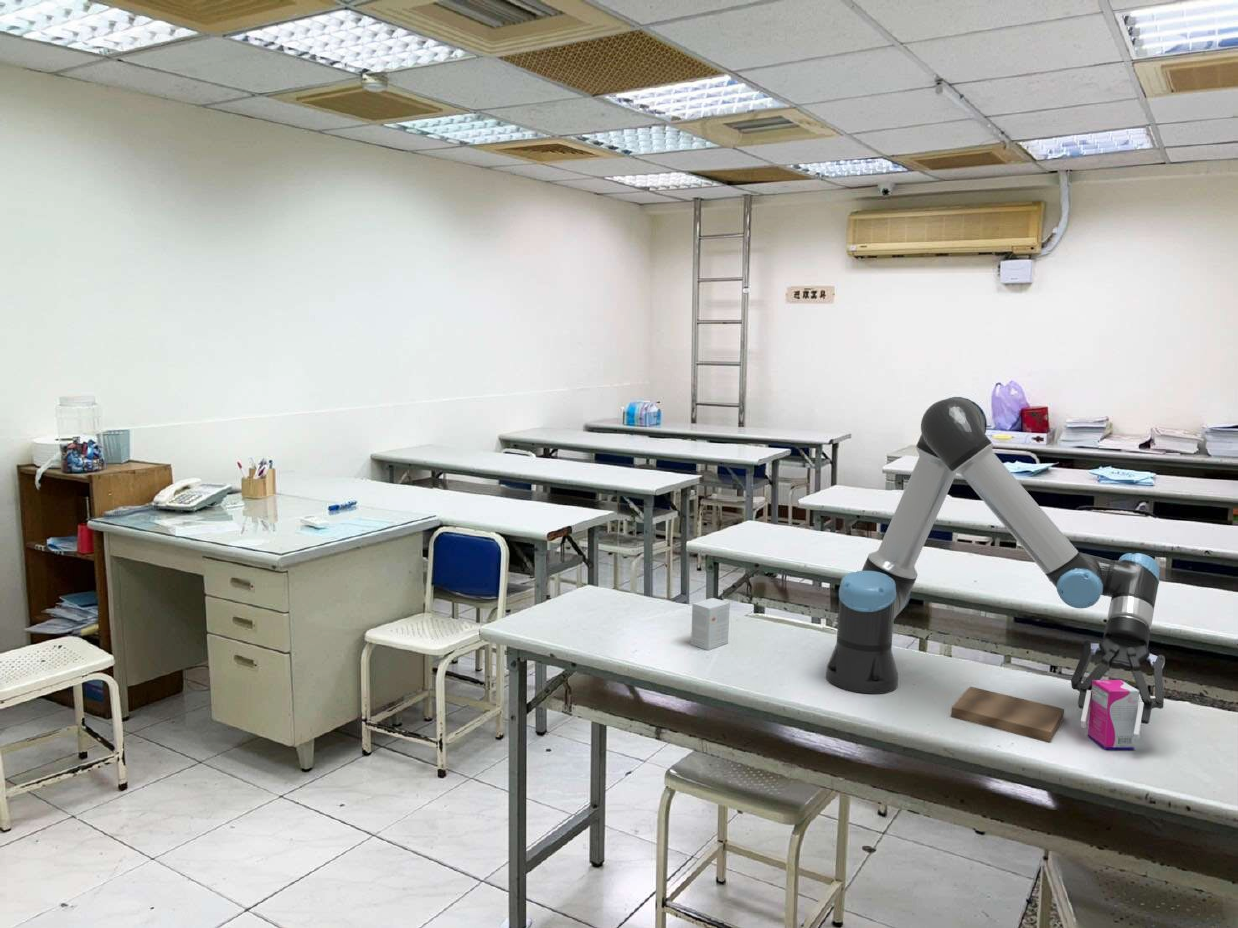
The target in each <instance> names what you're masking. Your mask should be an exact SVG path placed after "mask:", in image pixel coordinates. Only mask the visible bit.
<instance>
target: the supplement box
mask: <svg viewBox="0 0 1238 928" xmlns="http://www.w3.org/2000/svg"><path fill="white" fill-rule="evenodd" d="M1091 691H1092V692H1091V703H1090V710H1089V715H1088V726H1087V727H1088V728H1087V737H1088V738H1089V739H1090V740H1091V741H1093V742H1094V743H1096V744H1097V745H1098V746H1099V747H1101V748H1102V749H1103V750H1104V751H1135V745H1136V744H1135V743H1136V741H1135V740H1134V729H1135V723H1136V717H1137V711H1138V705H1139V702H1140V700H1139V699H1140V693H1139V690H1138V688H1137V687H1136V688H1135V687H1133V685H1132V686H1131V685H1130V684H1128V683H1127V682H1125V681H1124V680H1121V679H1100V680H1092V690H1091Z"/></svg>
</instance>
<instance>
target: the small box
mask: <svg viewBox="0 0 1238 928" xmlns="http://www.w3.org/2000/svg"><path fill="white" fill-rule="evenodd" d="M730 604H731V603H730V602H728V601H725V600H722V599H718V598H715V597H710V598H707V599H703V600H700V601H696V602H694V603H692V606H691V633H690V635H691V637H690V638H691V639H690V641H691V642H690V645H691V646H694V647H697V648H700V649H703V650H706V651H709V650H712V649H716V648H718V647H721V646H724V645H727V644H728V643H729V630H730V609H731V608H730Z"/></svg>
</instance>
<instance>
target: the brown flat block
mask: <svg viewBox="0 0 1238 928" xmlns="http://www.w3.org/2000/svg"><path fill="white" fill-rule="evenodd" d="M950 710H951V713H950V718H954V719H958V718H959V720H961V721H965V722H970V723H973V724H978V725H981V726H985V727H989V728H993V729H997V730H1000V731H1004V732H1008V733H1013V734H1016V735H1019V736H1024V737H1028V738H1030V739H1036V740H1039V741H1043V742H1047V743H1051V742H1052V740H1053V738H1054V736H1055V735H1056V733H1057V731H1058V729H1059V727H1060V726H1061V724H1062V721H1063V720H1064V715H1065V708H1063V707H1059V706H1054V705H1050V704H1046V703H1042V702H1037V701H1032V700H1029V699H1025V698H1020V697H1017V696H1012V695H1007V694H1004V693H999V692H995V691H992V690H986V689H984V688H983V689H982V688H979V687H974V686H969V687H968V688H967V689H966V691H964V693H963V694H962V695H960V697H959V698H958V699H957V701H956V702H955V703H954V704H953V705H951V709H950Z"/></svg>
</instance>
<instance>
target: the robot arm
mask: <svg viewBox="0 0 1238 928" xmlns="http://www.w3.org/2000/svg"><path fill="white" fill-rule="evenodd" d="M987 420H988V419H987V417H986V413H985V411H984V410H983V409H982V407H981V406H980V405H979V404H977V403H976V402H975V401H973V400H972V399H969V398H967V397H962V396H953V397H948V398H945V399H941V400H938V401H937V402H935V403H933V404H931V406H929V407H928V408H927V409H926V411H925V412H924V413H923V416H922V418H921V422H920V432H921V434H920V437H919V439H918V441H917V444H916V446H915V449H916V451H917V453H918V459H917V461H916V464H915V466H914V468H913V470H912V472H911V474H910V477H909V480H908V481H907V484H906V487H905V489H904V491H903V492H902V494H901V497H900V500H899V502H898V503H897V504H898V505H897V507H896V509H895V510H894V511H895V512H894V513H893V516H892V517H891V520H890V523H889V525H888V527H887V530H886V532H885V533H884V535H883V538H882V540H881V543H880V545H879V547H878V550H876V551H873V552H871V553H868V556H867V557H866V560H865V562H864V565H863V567H862V569H861V570H857V571H856V572H855V571H852V572H849V573H847V574H845V575H844V576H843V577H842V579H841V580H840V585H839V587H838V612H837V613H838V614H837V629H836V631H837V632H836V643H835V646H834V649H833V651H832V653H831V656H830V658H829V661H828V663H827V665H826V673H825V674H826V679H827V680H828V682H829V683H831V684H832V685H834V686H836V687H838V688H841V689H843V690H846V691H847V690H848V691H850V692H854V693H855V692H856V693H862V694H884V693H890V692H893V691H894V690H896V689H897V688H898V683H899V682H898V681H899V673H898V670H897V665H896V662H895V659H894V654H893V650H892V648H893V647H892V646H893V633H894V621H895V619H896V617H897V616H898V615H899V614H900V613H901V612H902V611H903V609H904V608H905V607H906V606H907V605H908V604H909V601H910V599H911V594H912V593H911V591H912V589H913V587H914V584H915V583H916V580H917V578H918V575H919V574H918V572H917V570H916V567H915V566H916V563H917V560H918V559H919V556H920V555H921V552H922V551H923V548H924V547H925V544H926V541H927V539H928V537H929V535H930V533H931V531H932V529H933V526H934V524H935V522H936V519H937V517H938V515H939V513H940V510H941V509H942V506H943V505H944V502H945V500H946V497H947V495H948V493H949V491H950V488H951V486H952V484H953V482H954V480H955V477H956V475H957V474H958V475H961V477H963V479H964V480H965V481H966V482H967V484H968V485H969V486H970V487H971V488H972V489H973V491H974V492H975V493H976V495H977V496H979V498H980V500H982V501H983V503H984V504H985V505H986V506H987V507H988V508H989V510H990V511H991V512H992V513H993V515H995V517H996V518H997V519H998V520H999V522H1001V524H1002V525H1003V526H1004V527H1005V528H1006V530H1007V531H1008V532H1009V533H1010V534H1011V535H1012V536H1013V538H1014V539H1015V540H1016V541H1017V543H1018V544H1019V545H1020V546H1021V548H1023V550H1025V552H1026V553H1027V554H1028V555H1029V557H1030V558H1031V559H1032V560H1033V562H1034V563H1035V564H1036V565H1037V566H1038V567H1039V569H1040V570H1041V571H1042V572H1043V573H1044V575H1045V576H1046V577H1047V578H1048V581H1049V582H1050V583H1052V584H1053V586H1054V587H1055V588H1056V592H1057V594H1058V596H1059V597H1060V599H1061V601H1062V602H1063V603H1065V604H1066V605H1067V606H1070V607H1072V608H1075V609H1088V608H1090V607H1093V606H1094V605H1095V604H1096V603H1098V601H1099V600H1100V599H1101V596H1102V597H1109V598H1111V599H1110V602H1109V609H1108V613H1107V618H1106V619H1107V620H1106V623H1105V628H1104V633H1103V637H1102V640H1101V641H1100V642H1099V643H1095V642H1094V643H1092V642H1091V641H1090V640H1084V641H1083V652H1082V654H1081V656H1080V659H1079V661H1078V663H1077V666H1076V667H1075V670H1074V672H1073V675H1072V677H1071V679H1070V686H1071V689H1073V690H1076V691H1078V692H1079V694H1078V700H1077V707H1078V709H1081V710H1082V712H1081V718H1080V726H1081V727H1080V728H1082V729H1083V728H1084V729H1086V728H1087V724H1088V721H1089V715H1090V703H1091V692H1092V680H1102V678H1103V677H1104V675H1105V674H1106V673H1107V672H1109V671H1110V670H1111V668H1114V669H1122V670H1125V671H1129V672H1130V671H1131V674H1132V677H1133V678H1134V680H1135V684H1136V686H1137V687H1136V688H1137V690H1139V697H1140V698H1141V699H1140V700H1141V701H1138V711H1137V717H1136V723H1135V729H1134V740H1135V742H1139V741H1140V735H1141V729H1142V724H1144V725H1149V723H1150V718H1151V713H1152V709H1155V708H1156V709H1160V710H1161V709H1164V704H1165V698H1164V686H1163V685H1164V684H1163V669H1164V668H1165V665H1166V664H1165V663H1166V657H1165V656H1164V655H1163V654H1159V655H1158V654H1157V655H1154V654H1152V653H1150V651H1149V642H1150V637H1151V636H1150V635H1151V628H1152V624H1153V619H1154V614H1155V613H1154V612H1155V606H1156V599H1157V596H1158V595H1157V594H1158V589H1159V585H1160V570H1161V569H1160V565H1159V564H1158V561H1156V560H1155V559H1154V558H1153V557H1151V556H1149V555H1147V554H1144V553H1139V552H1137V553H1132V552H1130V553H1129V552H1128V553H1125V554H1123V555H1121V556H1120V557H1119V559H1118V560H1112V559H1108V558H1103V557H1101V556H1095V555H1091V554H1088V553H1085V552H1084V553H1083V552H1081V551H1080V552H1079V550H1078V549H1077V548H1076V547H1075V546H1074V545H1073V543H1071V541H1070V540H1069V539H1068V537H1066V536H1065V534H1064V533H1063V532H1062V531H1061V529H1059V527H1058V526H1057V525H1056V524H1055V522H1054V521H1052V519H1051V518H1050V517H1049V515H1048V514H1047V513H1046V512H1045V511H1044V509H1042V507H1041V506H1039V504H1038V503H1037V501H1035V499H1034V498H1033V497H1032V496H1031V494H1029V492H1028V491H1027V490H1026V489H1025V488H1024V486H1023V485H1022V484H1021V483H1020V481H1018V479H1017V478H1016V476H1014V475H1013V473H1011V472H1010V470H1009V469H1008V468H1007V467H1006V466H1005V464H1004V463H1003V462H1002V461H1001V459H1000V458H999V457H998V456H997V454H995V452H993V448H994V447H993V446H994V443H993V442H992V441H991V440H990V439H989V437H988V436H987V434H986V433H987V430H988V429H987V428H988V427H987V426H988V421H987ZM1098 651H1099V652H1100V653H1101V656H1102V658H1101V660H1100V662H1098V664H1097V666H1095V668H1094V669H1093V670H1092V671H1091V672H1090V673H1089V675H1088V676H1087V677H1086V679H1085V680H1084V681H1083V678H1084V676H1085V674H1086V672H1087V669H1088V668H1089V664H1090V662H1091V659H1092V656H1094V655H1096V653H1097V652H1098ZM1147 661H1148V662H1150V666H1151V667H1152V668H1153V669H1154V670H1153V677H1154V678H1153V679H1154V696H1155V698H1154V697H1152V696H1151V694H1150V692H1149V689H1148V686H1147V684H1146V681H1145V678H1144V674H1143V672H1142V668H1141V666H1142V665H1143V664H1144V663H1146V662H1147ZM1082 681H1083V682H1082Z"/></svg>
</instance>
